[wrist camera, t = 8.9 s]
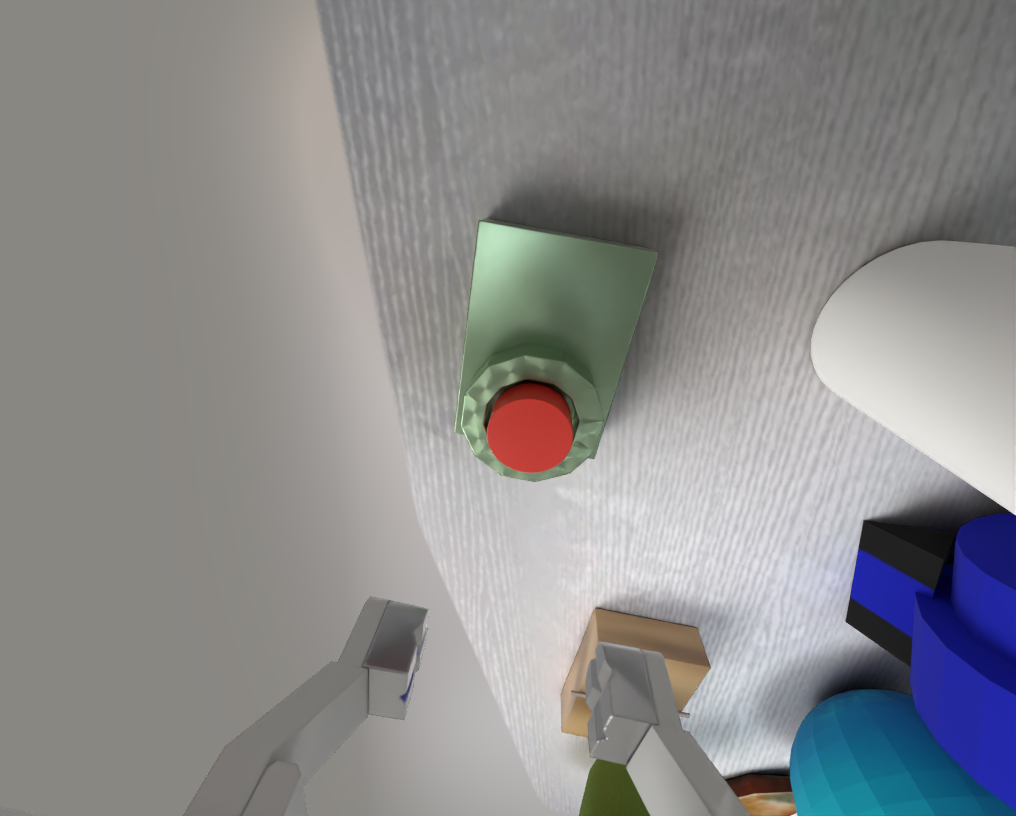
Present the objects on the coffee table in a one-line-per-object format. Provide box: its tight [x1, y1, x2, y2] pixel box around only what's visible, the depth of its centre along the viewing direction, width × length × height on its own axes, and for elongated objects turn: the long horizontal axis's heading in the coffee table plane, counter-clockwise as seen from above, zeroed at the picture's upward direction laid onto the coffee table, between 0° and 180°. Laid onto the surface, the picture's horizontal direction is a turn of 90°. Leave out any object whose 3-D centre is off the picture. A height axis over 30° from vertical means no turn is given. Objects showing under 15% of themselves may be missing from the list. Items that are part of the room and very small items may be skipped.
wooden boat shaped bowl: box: [726, 774, 797, 816], centre depth 40 cm, size 14×6×2 cm, turn 122°
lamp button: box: [487, 383, 573, 473], centre depth 20 cm, size 4×4×2 cm
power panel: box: [561, 608, 711, 737], centre depth 33 cm, size 12×9×3 cm
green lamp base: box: [454, 219, 659, 482], centre depth 21 cm, size 12×8×4 cm, turn 171°
